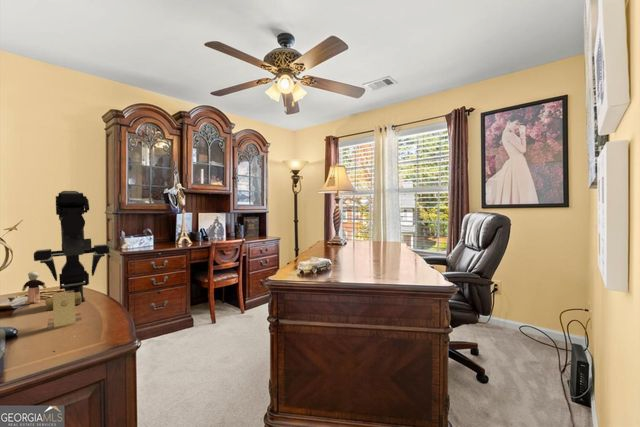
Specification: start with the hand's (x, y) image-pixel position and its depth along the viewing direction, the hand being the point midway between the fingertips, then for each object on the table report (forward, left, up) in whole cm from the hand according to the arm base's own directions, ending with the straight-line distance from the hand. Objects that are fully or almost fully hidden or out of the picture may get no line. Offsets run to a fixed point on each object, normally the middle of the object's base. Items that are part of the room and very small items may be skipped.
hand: (75, 278), depth 97 cm
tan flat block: (+2, -3, -15) cm, 15 cm away
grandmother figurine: (-38, -12, -15) cm, 43 cm away
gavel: (-15, -3, -15) cm, 21 cm away
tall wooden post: (+5, -3, -13) cm, 14 cm away
